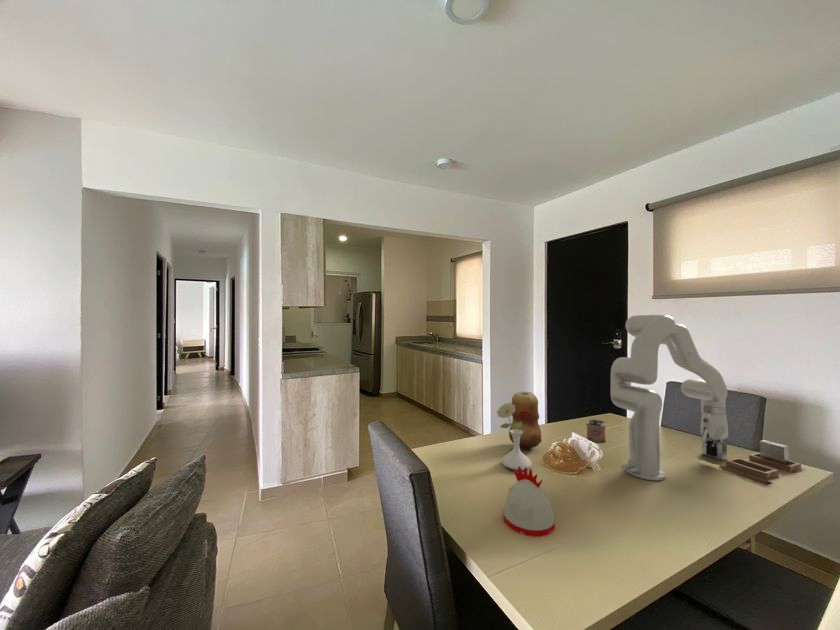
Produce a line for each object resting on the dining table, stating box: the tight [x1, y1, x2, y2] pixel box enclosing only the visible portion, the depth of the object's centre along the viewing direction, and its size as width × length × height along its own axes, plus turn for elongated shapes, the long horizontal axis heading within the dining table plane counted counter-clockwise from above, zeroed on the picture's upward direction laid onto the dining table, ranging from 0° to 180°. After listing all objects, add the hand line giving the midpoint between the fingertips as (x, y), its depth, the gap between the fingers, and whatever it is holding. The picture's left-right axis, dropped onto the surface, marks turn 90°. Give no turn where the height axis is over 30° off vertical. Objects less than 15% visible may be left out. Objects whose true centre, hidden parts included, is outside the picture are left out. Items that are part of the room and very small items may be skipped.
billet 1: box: [701, 439, 728, 461], centre depth 136 cm, size 3×7×8 cm, turn 20°
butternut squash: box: [508, 391, 542, 450], centre depth 149 cm, size 14×13×25 cm
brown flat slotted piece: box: [720, 451, 806, 486], centre depth 125 cm, size 26×13×4 cm, turn 110°
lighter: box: [586, 418, 607, 443], centre depth 159 cm, size 8×3×10 cm, turn 62°
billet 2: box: [759, 439, 790, 465], centre depth 128 cm, size 3×7×8 cm, turn 20°
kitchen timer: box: [502, 466, 556, 538], centre depth 95 cm, size 14×14×15 cm
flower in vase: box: [496, 402, 533, 471], centre depth 130 cm, size 13×11×25 cm
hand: (714, 454), depth 136 cm, fingers closed on billet 1, 3 cm apart
